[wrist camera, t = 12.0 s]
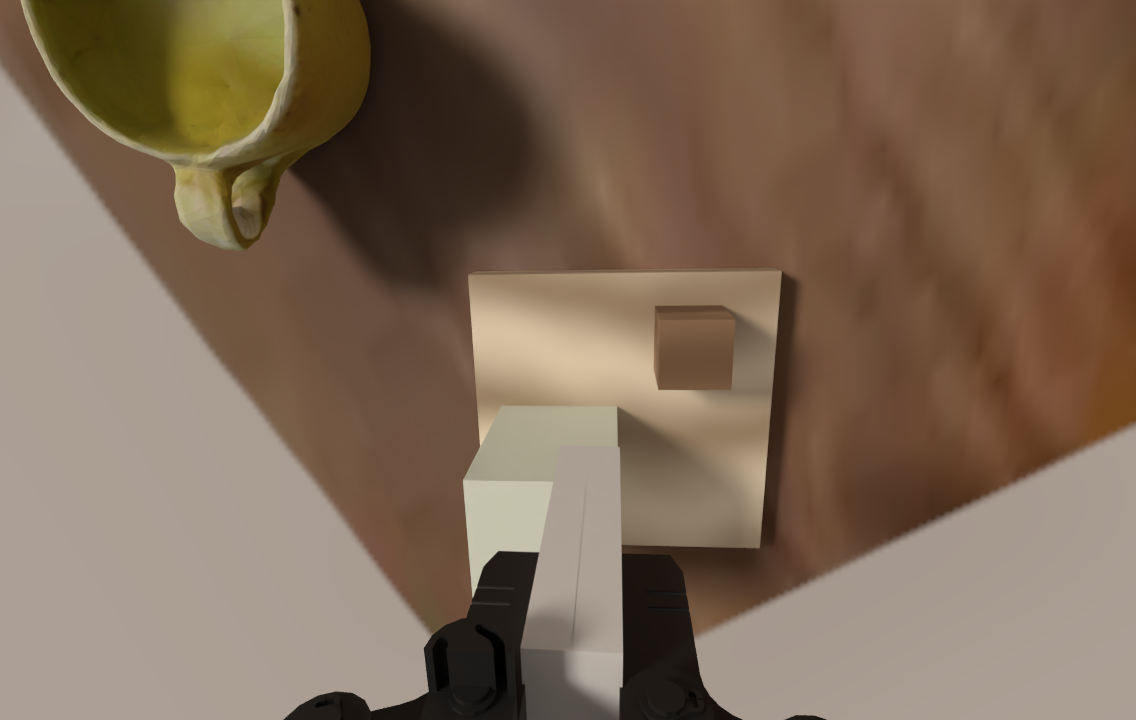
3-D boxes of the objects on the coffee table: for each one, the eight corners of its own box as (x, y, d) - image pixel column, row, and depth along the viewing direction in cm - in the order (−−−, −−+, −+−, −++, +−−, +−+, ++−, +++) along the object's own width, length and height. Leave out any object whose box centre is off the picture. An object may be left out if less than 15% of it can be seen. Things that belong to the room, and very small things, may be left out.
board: (474, 271, 28) (450, 285, 24) (774, 267, 27) (803, 281, 23) (491, 529, 32) (473, 578, 28) (754, 534, 31) (775, 586, 27)
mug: (112, -159, 22) (-85, -251, 14) (389, -67, 25) (364, -97, 17) (139, 163, 28) (11, 233, 20) (363, 207, 31) (334, 284, 23)
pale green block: (501, 405, 28) (462, 480, 21) (617, 406, 28) (618, 482, 21) (507, 507, 30) (473, 610, 23) (617, 509, 29) (618, 614, 22)
